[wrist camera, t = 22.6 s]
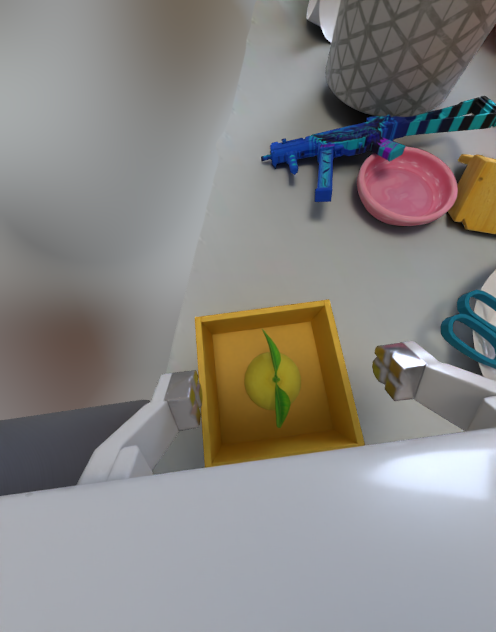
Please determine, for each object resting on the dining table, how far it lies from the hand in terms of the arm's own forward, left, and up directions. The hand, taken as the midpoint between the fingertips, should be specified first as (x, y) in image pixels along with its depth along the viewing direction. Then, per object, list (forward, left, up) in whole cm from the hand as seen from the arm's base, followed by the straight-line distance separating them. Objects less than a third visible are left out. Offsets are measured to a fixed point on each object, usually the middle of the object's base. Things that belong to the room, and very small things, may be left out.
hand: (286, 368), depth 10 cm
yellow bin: (0, 0, -17) cm, 17 cm away
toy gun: (+18, +19, -11) cm, 28 cm away
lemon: (0, 0, -17) cm, 17 cm away
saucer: (+22, +22, -17) cm, 35 cm away
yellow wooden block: (+33, +17, -13) cm, 39 cm away
